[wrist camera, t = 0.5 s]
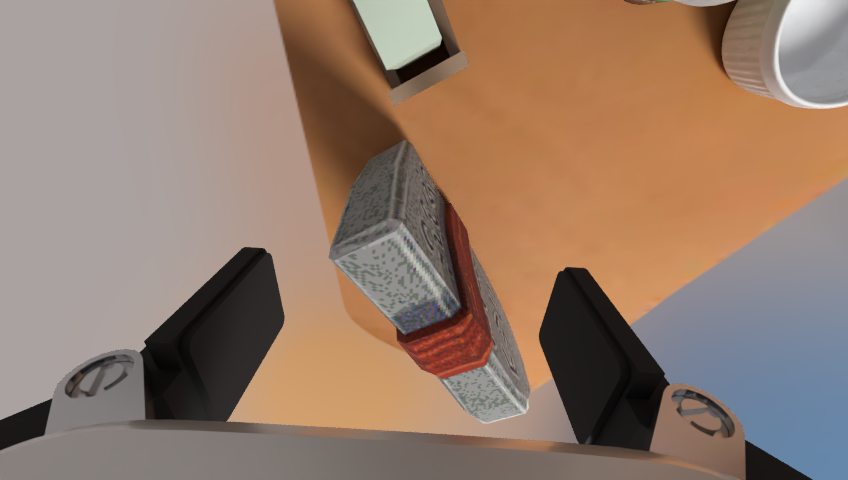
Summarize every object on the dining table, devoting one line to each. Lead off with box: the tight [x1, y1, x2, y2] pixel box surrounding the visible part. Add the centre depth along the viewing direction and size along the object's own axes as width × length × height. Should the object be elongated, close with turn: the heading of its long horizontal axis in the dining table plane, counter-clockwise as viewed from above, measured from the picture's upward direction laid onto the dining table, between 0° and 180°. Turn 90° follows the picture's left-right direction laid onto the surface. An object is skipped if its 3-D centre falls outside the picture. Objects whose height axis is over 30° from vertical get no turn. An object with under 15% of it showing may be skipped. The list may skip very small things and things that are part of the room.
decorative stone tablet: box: [329, 140, 531, 424], centre depth 33 cm, size 19×6×30 cm
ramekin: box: [722, 0, 848, 109], centre depth 26 cm, size 13×13×7 cm
